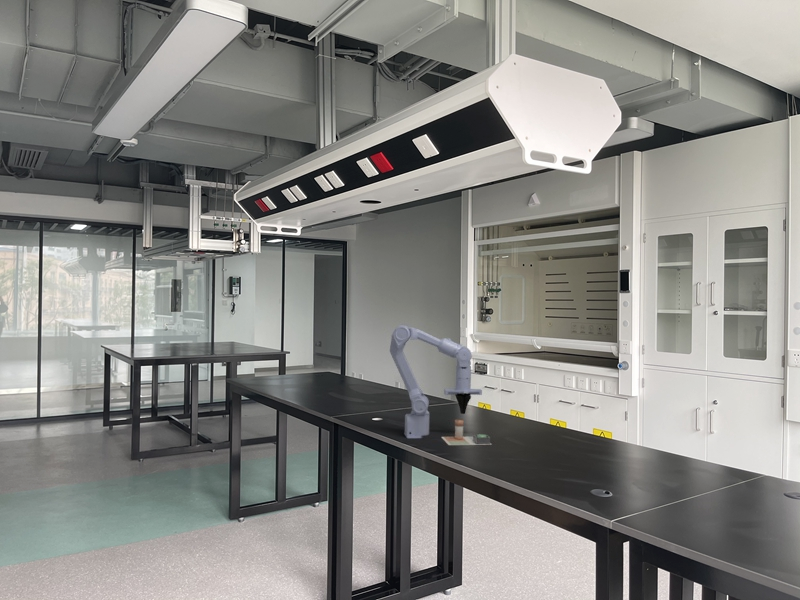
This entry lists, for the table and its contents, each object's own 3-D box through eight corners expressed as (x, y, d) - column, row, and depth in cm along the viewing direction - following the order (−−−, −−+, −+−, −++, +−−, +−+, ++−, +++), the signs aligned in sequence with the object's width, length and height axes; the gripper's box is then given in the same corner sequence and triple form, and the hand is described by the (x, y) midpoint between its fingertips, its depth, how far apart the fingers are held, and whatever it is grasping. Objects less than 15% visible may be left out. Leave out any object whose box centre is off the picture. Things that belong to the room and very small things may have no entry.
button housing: (476, 444, 207) (476, 437, 207) (473, 441, 212) (473, 434, 212) (490, 444, 208) (490, 437, 208) (486, 440, 213) (486, 434, 213)
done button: (478, 441, 208) (478, 436, 208) (475, 439, 212) (475, 434, 212) (487, 441, 209) (487, 436, 209) (484, 439, 212) (484, 434, 212)
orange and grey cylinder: (455, 439, 213) (456, 421, 213) (453, 437, 216) (454, 419, 216) (464, 439, 214) (464, 420, 214) (462, 437, 217) (462, 419, 217)
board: (448, 447, 205) (448, 444, 205) (440, 439, 218) (440, 436, 218) (491, 447, 208) (491, 444, 208) (481, 439, 220) (481, 436, 220)
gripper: (447, 379, 217) (446, 415, 217) (484, 379, 219) (483, 415, 219) (443, 377, 224) (442, 412, 224) (479, 377, 226) (478, 411, 226)
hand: (462, 413), depth 222 cm, fingers closed
